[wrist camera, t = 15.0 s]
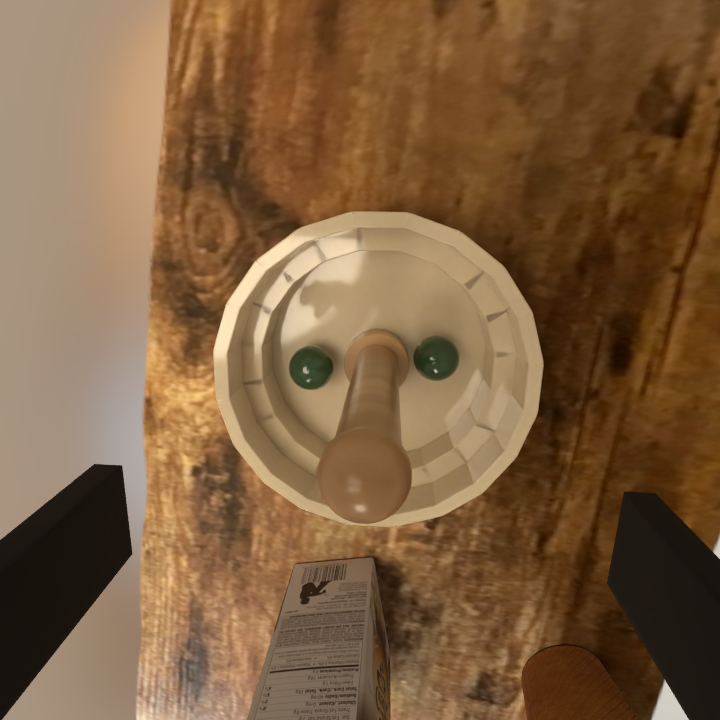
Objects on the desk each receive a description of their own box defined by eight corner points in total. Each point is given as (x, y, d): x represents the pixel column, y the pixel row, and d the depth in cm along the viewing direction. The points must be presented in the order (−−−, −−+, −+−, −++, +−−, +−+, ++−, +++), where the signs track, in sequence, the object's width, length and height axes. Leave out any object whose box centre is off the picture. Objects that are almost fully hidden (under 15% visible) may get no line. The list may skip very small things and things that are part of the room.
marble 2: (434, 333, 32) (412, 327, 30) (473, 344, 30) (452, 338, 28) (422, 375, 32) (399, 371, 30) (459, 388, 30) (438, 385, 28)
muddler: (346, 327, 31) (297, 435, 15) (409, 329, 31) (431, 441, 15) (345, 387, 32) (298, 551, 16) (406, 389, 32) (423, 558, 16)
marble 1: (289, 335, 31) (294, 359, 28) (332, 338, 32) (341, 361, 29) (284, 373, 32) (288, 398, 30) (326, 375, 33) (333, 399, 31)
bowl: (239, 212, 31) (204, 207, 25) (528, 218, 30) (562, 215, 24) (249, 470, 35) (221, 518, 29) (501, 483, 34) (523, 534, 28)
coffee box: (393, 655, 38) (395, 946, 23) (312, 661, 39) (260, 949, 23) (376, 553, 36) (364, 798, 20) (290, 562, 37) (216, 806, 21)
